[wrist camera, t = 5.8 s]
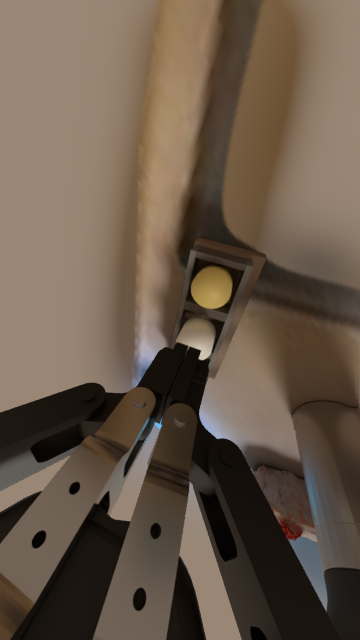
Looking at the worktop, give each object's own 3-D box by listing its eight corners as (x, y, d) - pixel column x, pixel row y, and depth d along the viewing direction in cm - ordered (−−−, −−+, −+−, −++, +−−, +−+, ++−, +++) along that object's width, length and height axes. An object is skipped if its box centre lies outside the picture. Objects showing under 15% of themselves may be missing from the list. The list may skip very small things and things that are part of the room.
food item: (247, 472, 47) (247, 528, 39) (256, 457, 43) (257, 516, 35) (309, 494, 44) (322, 560, 36) (324, 480, 40) (344, 550, 32)
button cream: (209, 313, 23) (204, 328, 20) (219, 342, 25) (216, 358, 22) (178, 320, 25) (170, 334, 22) (189, 346, 26) (183, 362, 24)
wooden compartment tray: (198, 237, 24) (188, 244, 20) (265, 254, 22) (268, 265, 18) (172, 354, 35) (162, 374, 31) (216, 370, 33) (211, 392, 30)
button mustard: (227, 257, 21) (224, 265, 19) (237, 292, 23) (236, 303, 20) (192, 268, 23) (185, 277, 20) (203, 300, 25) (198, 312, 22)
